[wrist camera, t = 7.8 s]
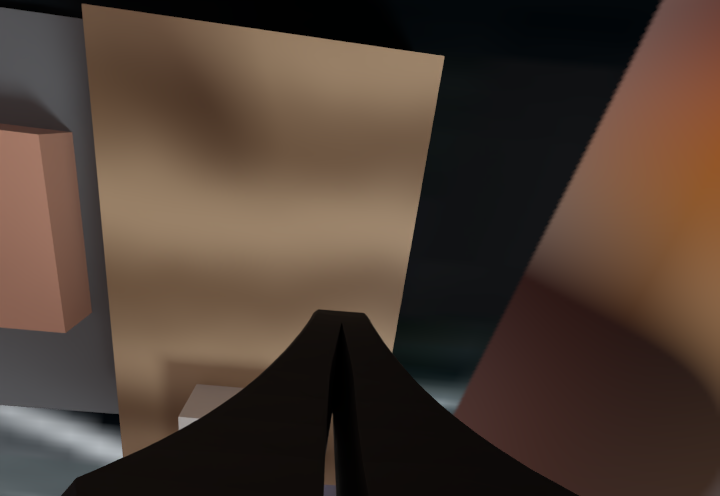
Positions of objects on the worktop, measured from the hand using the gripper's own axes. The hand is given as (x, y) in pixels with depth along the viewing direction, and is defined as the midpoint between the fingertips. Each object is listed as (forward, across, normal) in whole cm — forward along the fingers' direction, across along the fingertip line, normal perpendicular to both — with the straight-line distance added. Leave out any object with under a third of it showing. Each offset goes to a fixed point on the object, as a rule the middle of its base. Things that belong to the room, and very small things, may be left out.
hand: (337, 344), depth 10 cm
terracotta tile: (+8, +15, +1) cm, 17 cm away
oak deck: (+10, +3, +2) cm, 11 cm away
